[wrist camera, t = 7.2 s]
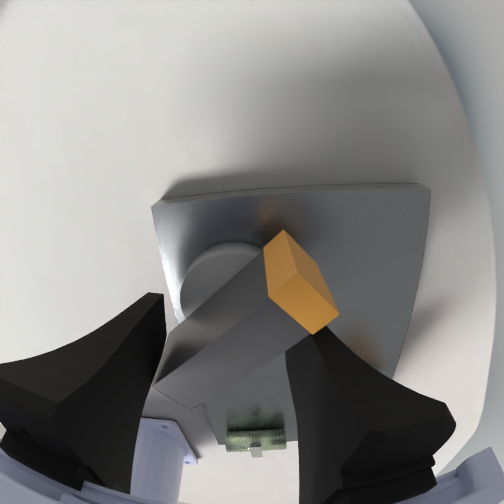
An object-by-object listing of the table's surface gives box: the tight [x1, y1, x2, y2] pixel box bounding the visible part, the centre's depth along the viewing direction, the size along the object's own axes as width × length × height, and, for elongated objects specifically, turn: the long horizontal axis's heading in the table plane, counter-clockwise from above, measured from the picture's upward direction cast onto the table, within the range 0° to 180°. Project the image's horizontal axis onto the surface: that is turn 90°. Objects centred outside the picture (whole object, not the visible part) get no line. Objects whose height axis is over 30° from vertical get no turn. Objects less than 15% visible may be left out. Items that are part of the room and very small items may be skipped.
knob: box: [152, 229, 340, 410], centre depth 10 cm, size 7×4×4 cm, turn 134°
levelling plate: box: [151, 184, 431, 457], centre depth 14 cm, size 12×18×3 cm, turn 5°
